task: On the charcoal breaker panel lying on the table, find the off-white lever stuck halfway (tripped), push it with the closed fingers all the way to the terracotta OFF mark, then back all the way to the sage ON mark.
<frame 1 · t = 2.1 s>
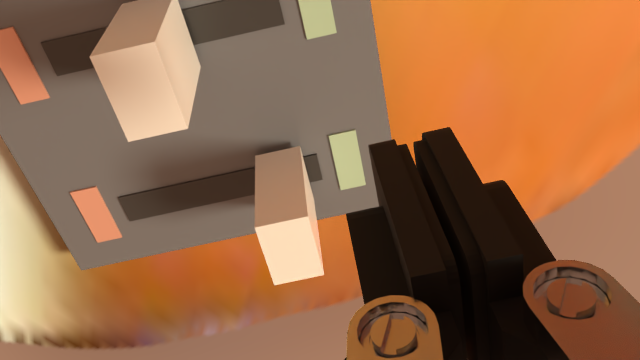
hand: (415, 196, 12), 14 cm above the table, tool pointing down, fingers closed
tripped breaker: (153, 62, 20), point 4 cm above the table, slide at 0.0 cm
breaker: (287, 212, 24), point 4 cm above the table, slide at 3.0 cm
breaker panel: (169, 19, 24), on the table
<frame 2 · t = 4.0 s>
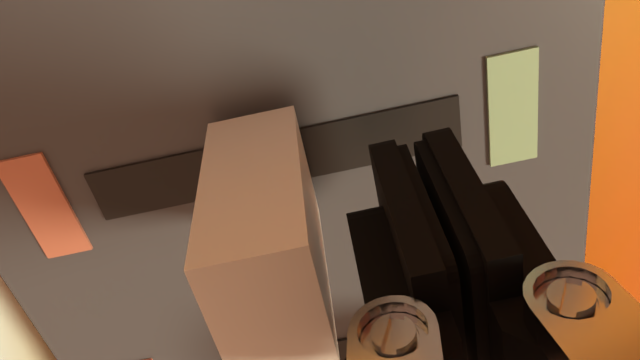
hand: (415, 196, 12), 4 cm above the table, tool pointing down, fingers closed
tripped breaker: (267, 233, 12), point 4 cm above the table, slide at -0.2 cm, touching gripper
breaker panel: (274, 129, 16), on the table
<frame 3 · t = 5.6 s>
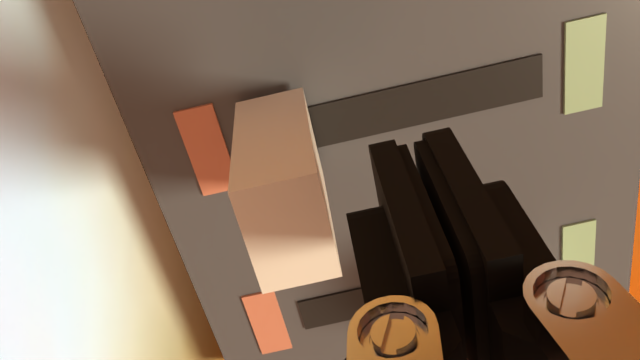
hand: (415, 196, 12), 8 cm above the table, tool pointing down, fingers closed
tripped breaker: (284, 181, 16), point 4 cm above the table, slide at -3.6 cm
breaker panel: (384, 90, 19), on the table
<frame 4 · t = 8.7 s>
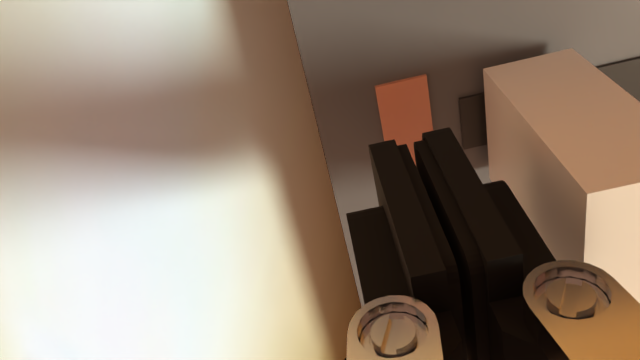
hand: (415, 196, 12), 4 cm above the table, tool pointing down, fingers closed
tripped breaker: (575, 173, 12), point 4 cm above the table, slide at -3.1 cm, touching gripper
breaker panel: (617, 57, 15), on the table
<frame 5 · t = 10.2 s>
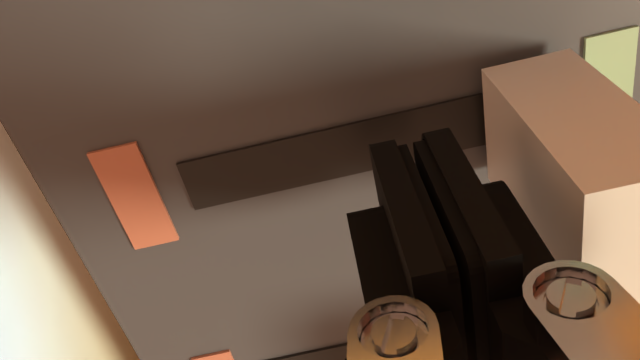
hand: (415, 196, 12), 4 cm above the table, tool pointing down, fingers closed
tripped breaker: (573, 173, 12), point 4 cm above the table, slide at 3.8 cm, touching gripper
breaker panel: (358, 117, 16), on the table
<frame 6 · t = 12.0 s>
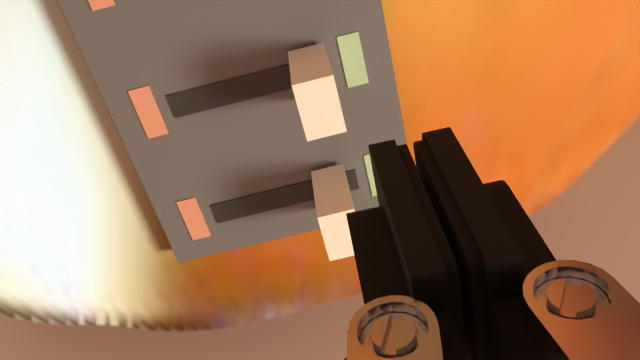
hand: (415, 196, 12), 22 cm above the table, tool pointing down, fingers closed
tripped breaker: (315, 89, 30), point 4 cm above the table, slide at 3.6 cm
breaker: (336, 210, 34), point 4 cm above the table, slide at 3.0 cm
breaker panel: (250, 76, 34), on the table
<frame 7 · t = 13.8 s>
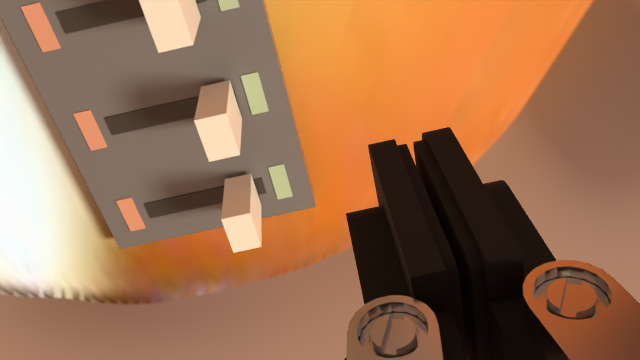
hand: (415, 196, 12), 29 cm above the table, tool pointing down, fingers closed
tripped breaker: (219, 119, 38), point 4 cm above the table, slide at 3.6 cm
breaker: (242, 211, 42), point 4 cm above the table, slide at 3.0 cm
breaker panel: (175, 102, 42), on the table
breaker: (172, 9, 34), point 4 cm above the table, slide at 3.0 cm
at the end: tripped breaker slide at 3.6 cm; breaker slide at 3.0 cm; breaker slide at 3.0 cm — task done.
